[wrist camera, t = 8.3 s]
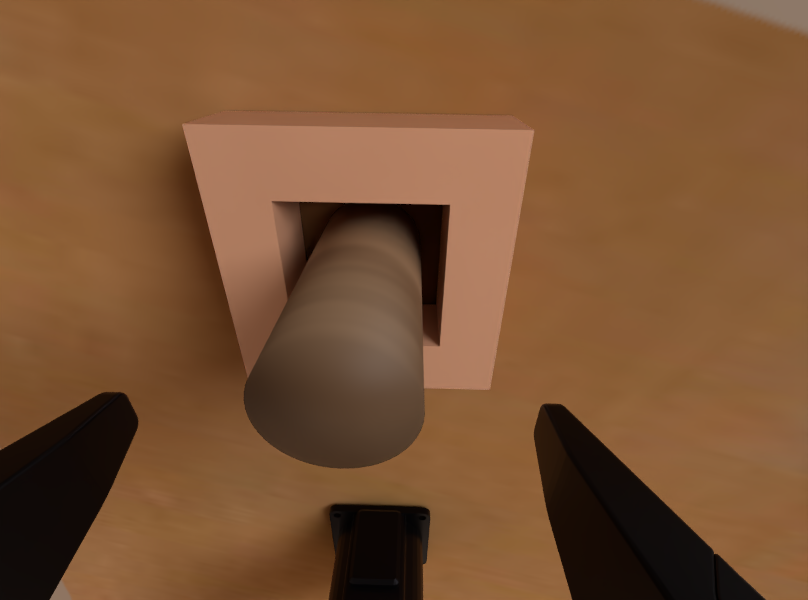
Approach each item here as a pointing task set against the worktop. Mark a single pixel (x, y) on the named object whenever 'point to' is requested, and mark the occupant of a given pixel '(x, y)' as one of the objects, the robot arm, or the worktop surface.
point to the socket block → (366, 183)
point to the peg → (347, 346)
